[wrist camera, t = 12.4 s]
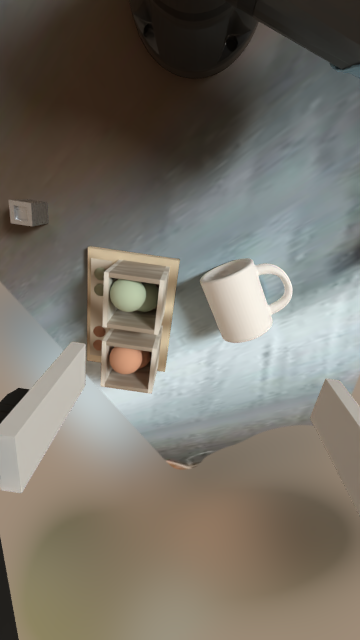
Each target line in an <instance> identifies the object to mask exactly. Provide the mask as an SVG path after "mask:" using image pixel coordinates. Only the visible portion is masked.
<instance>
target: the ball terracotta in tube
mask: <svg viewBox="0 0 360 640" xmlns="http://www.w3.org/2000/svg"><path fill="white" fill-rule="evenodd" d="M140 351H141V353H142V362H141V365H140V367H139V368H138V369H141V368H143V367H145V366H146V365H147V364H148V363H149V361H150V359H151V352H149V351H142V350H140Z"/></svg>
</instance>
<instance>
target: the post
mask: <svg viewBox="0 0 360 640" xmlns="http://www.w3.org/2000/svg"><path fill="white" fill-rule="evenodd" d="M9 209H10V220H11V223H13V224H20V225H26V226H37V225H43V224H48V205H47V202H41V201H34V200H28V199H24V200H9Z"/></svg>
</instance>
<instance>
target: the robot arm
mask: <svg viewBox="0 0 360 640" xmlns="http://www.w3.org/2000/svg"><path fill="white" fill-rule="evenodd" d="M129 1H130V6H131V11H132V15H133V18H134V21H135V24H136V27H137V30H138V32H139V35H140V37H141V39H142V41H143V43H144V45H145V47H146V48H147V50H148V52H149V53H150V54H151V56H152V57H153V58H154V59H155V60H156V61H157V62H158V63H159V64H160V65H161V66H162V67H164V68H165V69H166V70H168V71H170V72H172V73H174V74H176V75H179V76H182V77H186V78H203V77H208V76H211V75H214V74H216V73H218V72H220V71H222V70H224V69H225V68H227V67H228V66H229V65H230V64H232V63H233V62H234V61H235V60H236V59H237V58H238V57H239V56H240V55H241V53H242V52H243V51H244V49H245V48H246V47H247V45H248V43H249V42H250V40H251V38H252V36H253V34H254V32H255V30H256V27H257V25H258V22H261V23H263V24H264V25H266V26H268V27H269V28H271V29H273V30H275V31H276V32H278V33H280V34H282V35H283V36H285V37H287V38H288V39H290V40H292V41H294V42H295V43H297V44H299V45H301V46H302V47H304V48H306V49H307V50H309V51H311V52H313V53H314V54H316V55H318V56H319V57H321V58H323V59H325V60H326V61H328V62H330V65H331V67H332V68H333V69H335V70H336V71H338V72H340V71H341V72H343V73H350V74H352V75H354V76H356V77H358V78H360V0H129ZM85 361H86V344H84V343H77V342H71V343H70V344H69V345H68V346H67V348H66V349H65V350H64V351H63V352H62V353H61V354H60V356H59V357H58V358H57V359H56V360H55V361H54V363H53V364H52V365H51V366H50V367H49V368H48V369H47V371H46V372H45V373H44V374H43V375H42V376H41V378H40V379H39V380H38V381H37V382H36V383H35V384H34V386H33V387H32V388H31V389H30V390H29V389H22V388H18V389H16V390H15V391H13V392H11V393H9V394H7V396H5V398H4V399H3V400H2V401H1V402H0V487H1V490H3V491H10V492H17V493H22V492H23V490H24V488H25V486H26V485H27V483H28V481H29V480H30V478H31V476H32V475H33V473H34V471H35V470H36V468H37V466H38V464H39V463H40V461H41V459H42V458H43V456H44V454H45V453H46V451H47V449H48V448H49V446H50V444H51V443H52V441H53V439H54V438H55V436H56V434H57V433H58V431H59V429H60V427H61V425H62V424H63V422H64V421H65V419H66V417H67V416H68V414H69V412H70V411H71V409H72V407H73V406H74V404H75V402H76V401H77V399H78V397H79V395H80V394H81V392H82V390H83V388H84V387H85ZM310 419H311V421H312V423H313V425H314V427H315V429H316V431H317V433H318V435H319V437H320V439H321V441H322V443H323V445H324V447H325V449H326V451H327V453H328V455H329V457H330V458H331V460H332V462H333V465H334V467H335V468H336V470H337V472H338V474H339V476H340V478H341V480H342V482H343V484H344V486H345V488H346V490H347V492H348V494H349V496H350V498H351V500H352V502H353V504H354V506H355V508H356V510H357V512H358V514H359V516H360V406H359V405H358V404H357V402H356V401H355V400H354V399H353V397H352V396H351V395H350V393H349V392H348V391H347V389H346V388H345V387H344V386H343V384H342V383H341V382H340V380H333V379H325V381H324V384H323V386H322V389H321V391H320V394H319V396H318V399H317V401H316V404H315V406H314V409H313V411H312V414H311V417H310ZM0 640H19V639H18V633H17V628H16V622H15V617H14V611H13V606H12V600H11V594H10V589H9V583H8V578H7V572H6V566H5V561H4V556H3V550H2V544H1V539H0Z"/></svg>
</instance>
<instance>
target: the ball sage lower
mask: <svg viewBox="0 0 360 640" xmlns="http://www.w3.org/2000/svg"><path fill="white" fill-rule="evenodd" d="M141 283H142V284H143V285H144V288H145V291H146V298H145V301H144V303H143V305H142V306H141V307H140V308H139V309H137V310H138V311H141V312H148V311H151V310H152V309H154V308H155V307H156V306H157V303H158V293H159V289H158V288H157V286H156V285H155V284H153V283H146V282H141Z"/></svg>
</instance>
